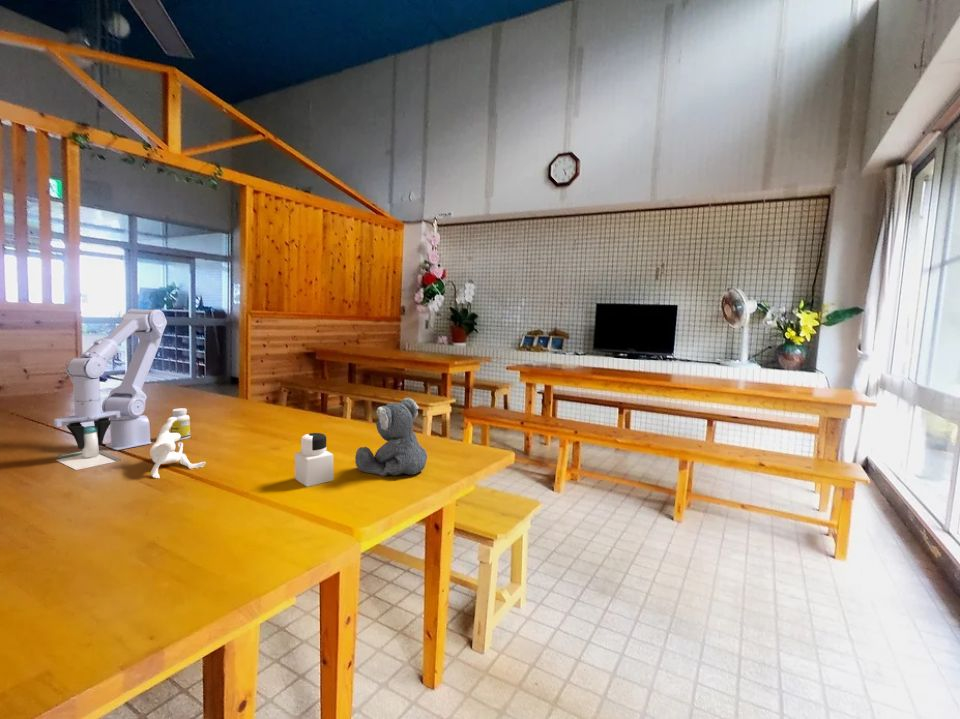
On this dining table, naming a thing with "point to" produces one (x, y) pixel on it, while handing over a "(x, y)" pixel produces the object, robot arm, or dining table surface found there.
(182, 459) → the person figurine
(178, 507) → the dining table surface
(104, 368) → the robot arm
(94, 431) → the white teal cylinder
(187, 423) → the supplement bottle
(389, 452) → the koala plush
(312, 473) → the medicine bottle
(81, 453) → the green striped bar
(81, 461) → the white rectangular slab
